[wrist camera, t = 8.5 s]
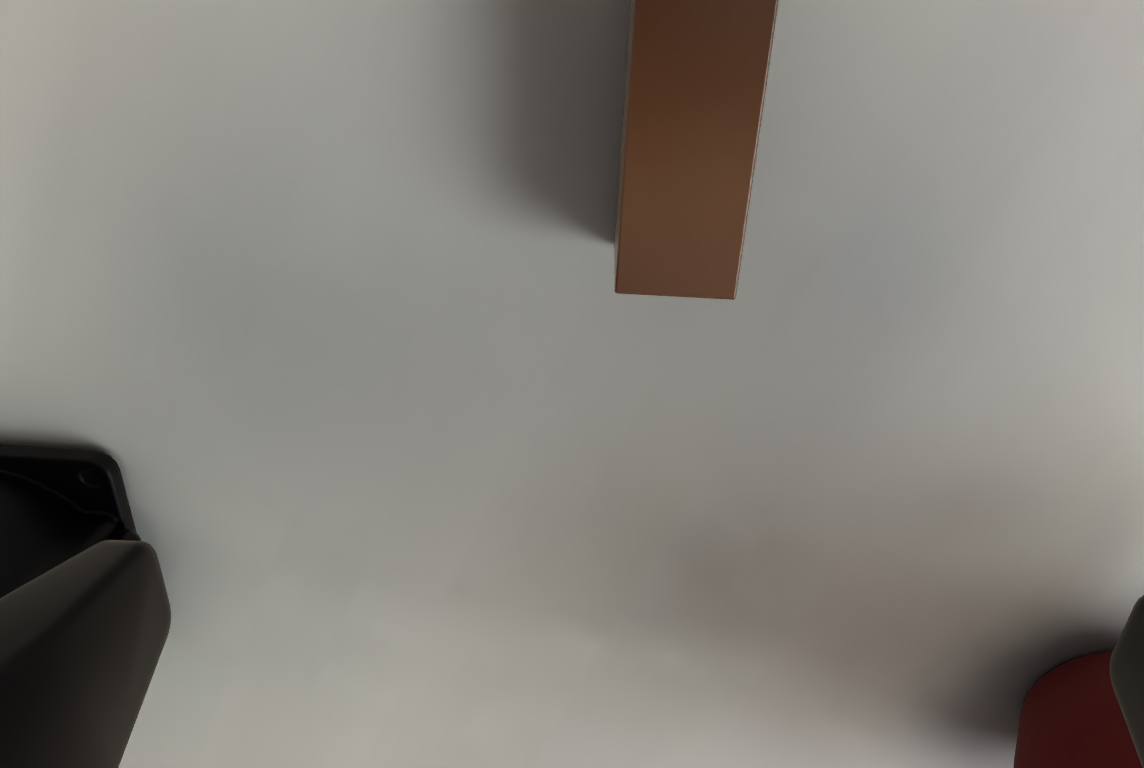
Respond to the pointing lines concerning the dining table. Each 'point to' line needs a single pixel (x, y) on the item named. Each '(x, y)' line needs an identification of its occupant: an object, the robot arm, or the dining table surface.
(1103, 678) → the mug
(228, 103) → the dining table surface
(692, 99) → the spatula
